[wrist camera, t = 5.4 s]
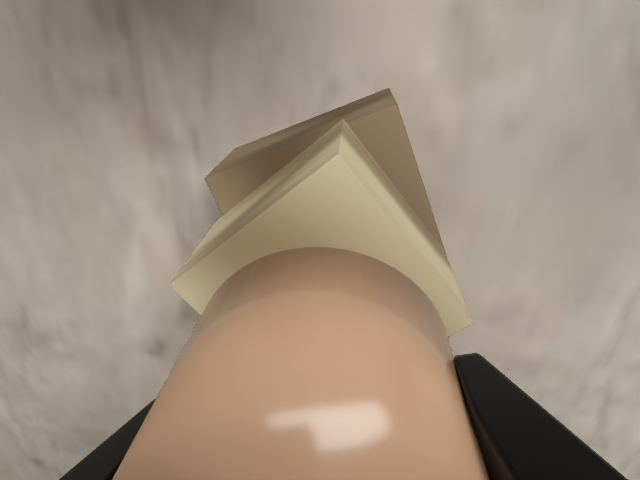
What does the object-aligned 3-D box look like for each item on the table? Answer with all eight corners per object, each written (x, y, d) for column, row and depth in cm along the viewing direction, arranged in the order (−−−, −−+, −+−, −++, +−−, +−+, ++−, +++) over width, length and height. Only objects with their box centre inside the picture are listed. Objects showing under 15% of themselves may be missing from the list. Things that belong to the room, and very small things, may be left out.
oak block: (343, 118, 13) (337, 153, 9) (443, 248, 14) (472, 323, 11) (215, 220, 15) (169, 284, 11) (317, 329, 16) (306, 418, 12)
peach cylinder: (430, 223, 8) (490, 387, 4) (463, 438, 10) (524, 676, 6) (160, 273, 9) (22, 447, 5) (240, 463, 11) (179, 686, 7)
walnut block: (388, 87, 16) (397, 103, 13) (436, 235, 19) (455, 285, 15) (235, 147, 18) (204, 178, 14) (297, 279, 20) (283, 336, 16)
